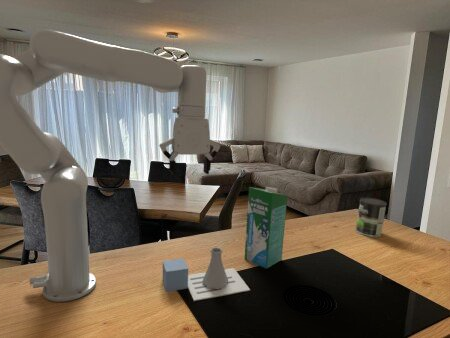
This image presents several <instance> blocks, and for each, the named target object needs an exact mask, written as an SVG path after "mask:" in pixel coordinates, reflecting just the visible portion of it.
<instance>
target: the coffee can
mask: <svg viewBox="0 0 450 338" xmlns="http://www.w3.org/2000/svg"><path fill="white" fill-rule="evenodd" d="M386 207H387V202H386V201H384V200H382V199H378V198H373V197H361V198H359V205H358V213H357V219H356V227H355V231H356V233H358V234H360V235H362V236H366V237H370V238H379V237H380V238H381V236H382V233H383V227H384V220H385V214H386Z"/></svg>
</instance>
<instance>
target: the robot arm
mask: <svg viewBox="0 0 450 338" xmlns="http://www.w3.org/2000/svg"><path fill="white" fill-rule="evenodd" d="M65 73H68V74H73V75H76V76H80V77H86V78H91V79H94V80H98V81H103V82H112V83H115V82H122V83H123V82H124V83H130V84H135V85H136V84H137V85H140V86H146V87H150V88H152V89H153V90H154V91H156V92H157V93H177V106H176V107H172V110H171V111H172V113H173V114H176V116H177V117H175V119H174V123H173V130H172V137H171V138H169V139H168V140H165V141H164V142H162V143H161V142H160V144H159V145H158V146H159V148H160V149H161V150H160V151H161V152H162V153H163V155H164V156H165V157H166V158H167V159H168V160H169V161H168V162H169V163H168V164H169V165H168V170H169V172H170V174H171V175H172V176H176V174H177V161H176V158H177V157H178V156H179V155H183V156H184V155H186V156H187V155H188V156H189V155H192V156H193V155H194V156H196V155H203V156H204V159H203V171H202V172H203V173H204V174H206V175H209V173H210V171H211V164H212V160H213V158H214V157H215V156H217V155H218V152H219V150H220V148H221V144H219V143H217V142H215V141H213V140H212V139H211V133H210V124H209V118H206V99H207V70H206V68H205V67H203V66H200V65H195V64H188V65H187V64H185V65H181V66H180V64H179V63H178V62H177V61H175V60H173V59H171V58H169V57H166V56H161V55H159V54H155V53H150V52H147V51H144V50H143V51H142V50H140V49H132V48H127V47H121V46H117V45H112V44H107V43H103V42H98V41H96V40H91V39H87V38H83V37H80V36H76V35H73V34H70V33H65V32H62V31H57V30H53V29H47V28H45V29H39V30H36V31H35V32H34V33H33V34H32V35H31V38H30V40H29V48H28V49H27V50H25V51H23V52H21V53H19V54H18V55H17V54H16V55H15V56H13V57H12V56H9V55H6V54H3V53H0V145H1V147H2V148H3V149H4V150H5V152H6V153H7V154H8V155H9V157H11V159H12V160H13V161H14V162H15V164H16V165H17V166H18V167H19V168H20V169H21V170H22V171H23V172H26V174H27V173H28V174H29V175H30V174H31V175H39V176H41V177H42V179H43V180H44V181H45V182H44V183H43V186H42V188H41V193H40V194H41V195H40V202H41V203H40V204H41V207H42V212H43V219H44V229H45V230H44V231H45V242H46V253H47V255H46V256H47V266H48V267H47V269H48V271H47V272H48V273H44V275H35V276H30V278H29V285H30V286H32V289H39V288H42V296H43V297H44V298H45V299H46V300H48V301H50V302H54V303H55V302H57V303H61V302H63V303H64V302H70V301H73V300H77V299H80V298H82V297H84V296H86V295H88V294H89V293H91V292H92V291H93V290H94V289H95V287H96V285H97V278H96V276H95V275H94V274H92V273H91V272H90V256H89V255H90V253H89V235H88V234H89V233H88V216H87V215H88V213H87V191H88V190H87V189H88V184H89V180H88V179H89V178H88V176H87V174H86V172H85V171H84V170H83V168H82V167H81V165H80V164H79V163H78V161H77V160H76V158H74V156H73V155H72V154H71V152H70V151H69V149H68V148H67V147H66V145H65V144H64V143H63V142H62V141H61V140H60V138H58V137H57V136H55V135H54V134H52V133H50V132H46V131H43V130H42V129H41V128H40V127H39V126H38V124H37V123H36V122H35V120H34V119H33V118H32V116H31V115H30V114H29V112H28V111H27V110H26V109H25V108H24V106H22V105H21V104H20V102H19V101H18V99H17V97H19V96H24V95H27V94H28V93H31V92H33V91H36V90H37V89H38V88H41V87H42V86H44V85H45V84H48V83H49V82H51V81H53V80H55V79H57V78H58V77H60V76H61V75H63V74H65ZM170 145H171V148H172V151H171V152H170V153H169V151H168V150H167V147H168V146H170ZM211 146H212V147H213V149H212V150H211Z"/></svg>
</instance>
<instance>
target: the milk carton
mask: <svg viewBox="0 0 450 338" xmlns="http://www.w3.org/2000/svg"><path fill="white" fill-rule="evenodd" d="M278 190H279V189H278V188H275V187H271V186H270V187H269V186H265V188H258V187H251V186H249V187H248V200H247V213H246V226H245V227H246V230H245V244H244V245H245V246H244V259H245V260H246V261H248V262H250V263H253V264H255V265H257V266H259V267H261V268H263V269H266V270H267V269H268V268H270V267H272V266H273V265H275V264H277V263H278V262H280V261H282V260H283V259H282V258H283V249H284V247H283V246H284V238H285V225H286V215H287V214H286V213H287V204H288V195H287V194H283V193H279V192H278Z"/></svg>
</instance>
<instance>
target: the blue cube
mask: <svg viewBox="0 0 450 338" xmlns="http://www.w3.org/2000/svg"><path fill="white" fill-rule="evenodd" d="M188 275H189V267H188V264H187V263H186V260H185V259H184V258H175V259H167V260H162V284H163V286H164V290H165V292H166V293H168V292H169V293H170V292H173V291H179V290H180V291H181V290H185V289H188Z"/></svg>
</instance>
